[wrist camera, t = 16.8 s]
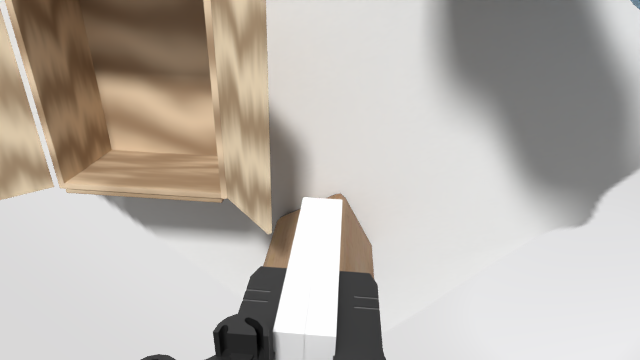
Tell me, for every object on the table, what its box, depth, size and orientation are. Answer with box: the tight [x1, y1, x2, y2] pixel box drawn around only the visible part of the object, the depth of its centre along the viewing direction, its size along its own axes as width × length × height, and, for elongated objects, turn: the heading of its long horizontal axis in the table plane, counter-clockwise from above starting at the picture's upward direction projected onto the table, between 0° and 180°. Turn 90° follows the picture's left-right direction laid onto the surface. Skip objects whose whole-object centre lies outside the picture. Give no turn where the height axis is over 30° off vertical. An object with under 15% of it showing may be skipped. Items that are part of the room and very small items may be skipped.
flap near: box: [211, 0, 272, 234], centre depth 34 cm, size 19×1×8 cm
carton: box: [5, 0, 227, 203], centre depth 42 cm, size 21×18×10 cm
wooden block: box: [263, 194, 374, 279], centre depth 46 cm, size 10×10×20 cm
